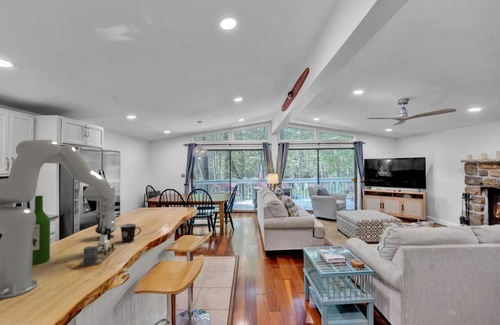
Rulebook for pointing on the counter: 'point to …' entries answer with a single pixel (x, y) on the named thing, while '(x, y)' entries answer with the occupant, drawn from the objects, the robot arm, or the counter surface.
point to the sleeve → (104, 242)
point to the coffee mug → (128, 232)
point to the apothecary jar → (101, 229)
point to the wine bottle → (41, 234)
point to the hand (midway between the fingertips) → (106, 240)
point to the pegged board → (96, 255)
